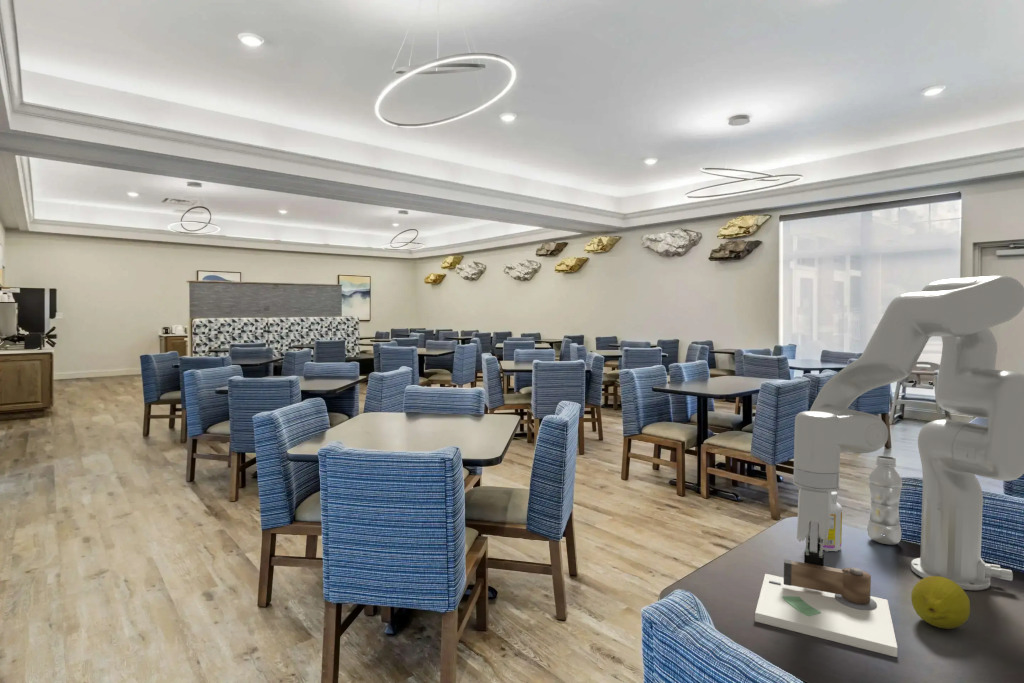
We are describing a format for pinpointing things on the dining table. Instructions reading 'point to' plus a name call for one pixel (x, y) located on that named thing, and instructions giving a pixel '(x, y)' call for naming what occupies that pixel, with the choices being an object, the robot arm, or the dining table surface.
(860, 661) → the dining table surface
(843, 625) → the dial plate
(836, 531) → the supplement bottle
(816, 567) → the walnut dial lever
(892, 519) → the plastic bottle
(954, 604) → the lemon
